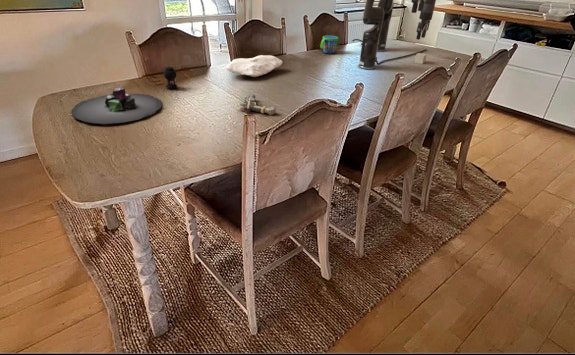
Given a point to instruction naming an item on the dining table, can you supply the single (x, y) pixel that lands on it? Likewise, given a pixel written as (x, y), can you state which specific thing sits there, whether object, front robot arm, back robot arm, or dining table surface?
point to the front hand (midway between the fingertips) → (417, 11)
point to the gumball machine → (170, 77)
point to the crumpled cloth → (254, 65)
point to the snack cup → (329, 44)
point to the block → (420, 58)
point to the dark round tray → (116, 108)
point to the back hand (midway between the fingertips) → (420, 38)
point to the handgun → (255, 106)
